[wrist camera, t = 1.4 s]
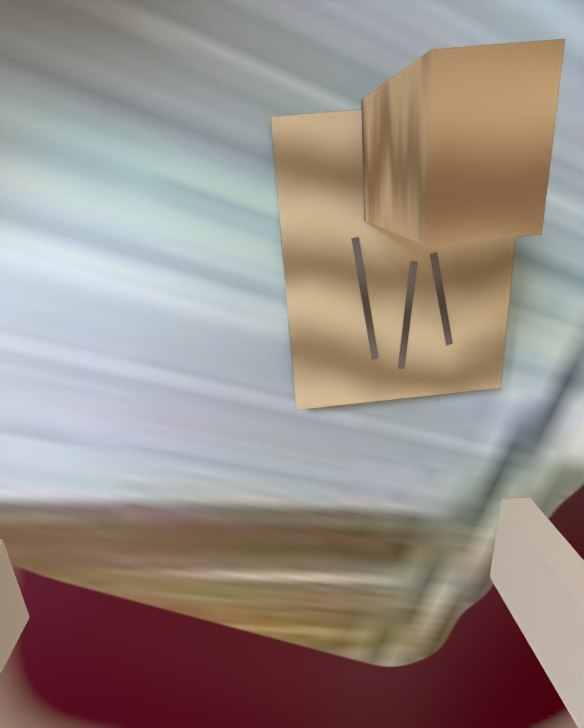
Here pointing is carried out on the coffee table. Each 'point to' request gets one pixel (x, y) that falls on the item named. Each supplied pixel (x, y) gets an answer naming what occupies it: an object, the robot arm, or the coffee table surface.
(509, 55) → the block
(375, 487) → the coffee table surface
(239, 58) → the coffee table surface
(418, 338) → the board
